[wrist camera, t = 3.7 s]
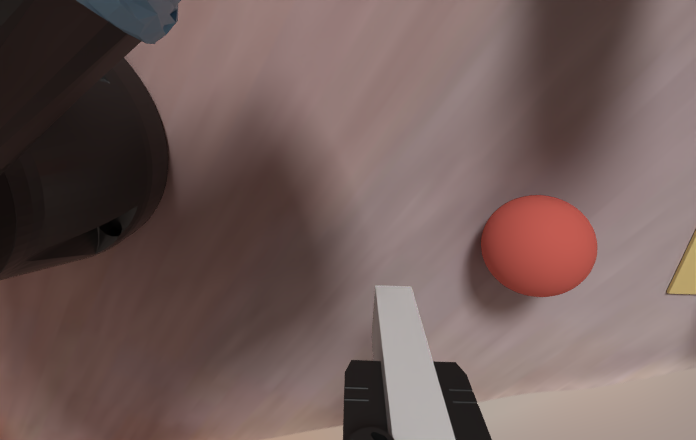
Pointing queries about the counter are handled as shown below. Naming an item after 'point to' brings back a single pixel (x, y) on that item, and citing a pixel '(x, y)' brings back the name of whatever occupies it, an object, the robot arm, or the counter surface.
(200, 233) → the counter surface
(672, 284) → the plate
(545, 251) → the ball
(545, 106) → the counter surface
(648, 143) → the counter surface
